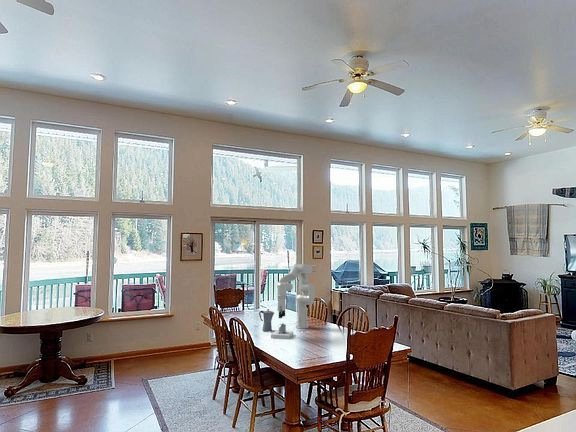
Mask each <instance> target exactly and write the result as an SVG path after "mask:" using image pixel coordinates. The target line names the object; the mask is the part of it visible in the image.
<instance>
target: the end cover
mask: <svg viewBox="0 0 576 432" xmlns="http://www.w3.org/2000/svg"><path fill="white" fill-rule="evenodd" d="M286 326H287V325H286V324H285V323H283V322H280V323H279V324H278V330H279V334H285V333H286V331H287V330H286V329H287V327H286Z"/></svg>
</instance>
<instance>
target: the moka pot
mask: <svg viewBox="0 0 576 432" xmlns="http://www.w3.org/2000/svg"><path fill="white" fill-rule="evenodd" d="M262 315H263V319H262ZM274 315H275V312H274V311H272V310H270V309H269V308H267V310H259V313H258V316H259V318H260V321H262V322H263V326H262V331H263V332H272V331H273V329H272V320H273V316H274Z"/></svg>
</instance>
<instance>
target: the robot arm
mask: <svg viewBox="0 0 576 432" xmlns="http://www.w3.org/2000/svg"><path fill="white" fill-rule="evenodd" d="M313 269H314V267H313V266H312V265H310V264H305V263H301V264H300V263H295V264H294V265H293V266H292V267H291V269H290V271H288V274H287V273H286V274H285V275H284V276H282V277H281V278H279V281H278V282H277V285H276V288H277V300H278V301H277V311H278V319H283V317H286V300H287V292H291V291H292V290H293V288H294V285H293V283H292V282H293V281H296V280H297V278H299V281H298V282H299V283H298V292H299V293H300V294H297V295H296V297H295V300H296V306H297V307H296V308H297V310H296V311H297V318H296V319H297V325H295V328H297V329H308V328H310V326H309V324H308V307H307V306H306V305H309V306H311V305H313V304H314V302H315V292H316V286H315V285H314V284H313V283H312V282H311V283H309V278H308V275H310V274H311V275H312V273H313V272H314V271H313Z"/></svg>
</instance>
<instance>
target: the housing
mask: <svg viewBox="0 0 576 432" xmlns="http://www.w3.org/2000/svg"><path fill="white" fill-rule="evenodd" d="M293 336H294V331H293V330H286V333H285V334H279V329H276V330H274V332H273V333H271V334H270V338H271V339H280V340H281V339H283V340H289V339H291V338H292V337H293Z"/></svg>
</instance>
